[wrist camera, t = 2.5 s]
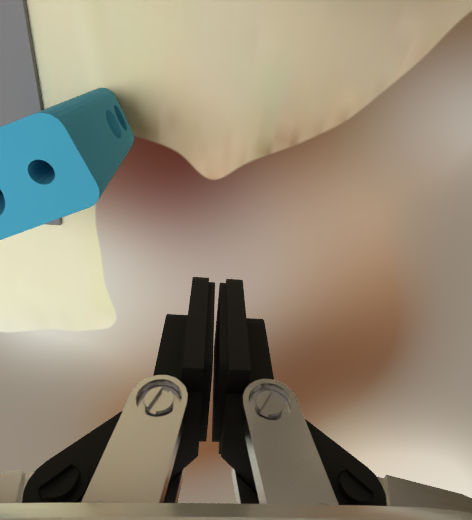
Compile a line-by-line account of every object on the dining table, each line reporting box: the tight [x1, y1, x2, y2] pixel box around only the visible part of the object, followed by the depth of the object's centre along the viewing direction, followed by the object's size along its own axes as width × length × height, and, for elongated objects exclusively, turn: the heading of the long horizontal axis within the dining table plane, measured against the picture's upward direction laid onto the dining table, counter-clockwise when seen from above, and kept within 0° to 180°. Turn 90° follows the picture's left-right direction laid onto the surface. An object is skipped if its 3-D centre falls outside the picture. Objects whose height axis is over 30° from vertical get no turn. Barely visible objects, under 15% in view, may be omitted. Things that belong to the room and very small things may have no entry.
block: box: [0, 88, 134, 240], centre depth 27 cm, size 12×5×20 cm, turn 109°
